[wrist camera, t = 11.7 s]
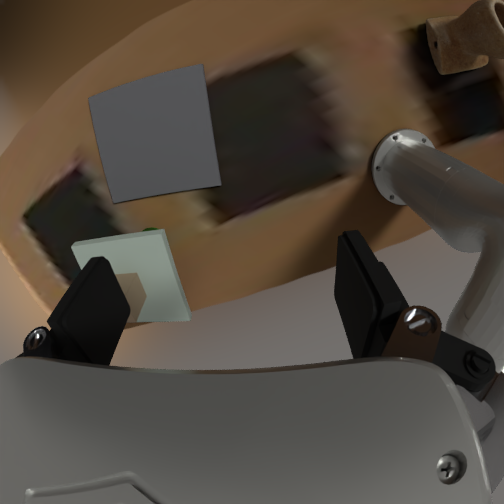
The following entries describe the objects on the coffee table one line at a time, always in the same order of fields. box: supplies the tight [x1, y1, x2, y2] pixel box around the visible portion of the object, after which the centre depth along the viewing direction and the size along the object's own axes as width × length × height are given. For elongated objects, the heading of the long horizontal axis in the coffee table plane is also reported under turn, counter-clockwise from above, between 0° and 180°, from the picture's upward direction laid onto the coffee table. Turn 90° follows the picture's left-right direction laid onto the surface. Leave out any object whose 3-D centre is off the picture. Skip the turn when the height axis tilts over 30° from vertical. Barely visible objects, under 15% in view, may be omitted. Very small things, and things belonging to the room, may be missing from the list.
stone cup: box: [426, 0, 504, 75], centre depth 18 cm, size 15×12×15 cm
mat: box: [88, 64, 221, 203], centre depth 35 cm, size 18×18×1 cm
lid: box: [71, 229, 192, 323], centre depth 33 cm, size 14×14×6 cm
